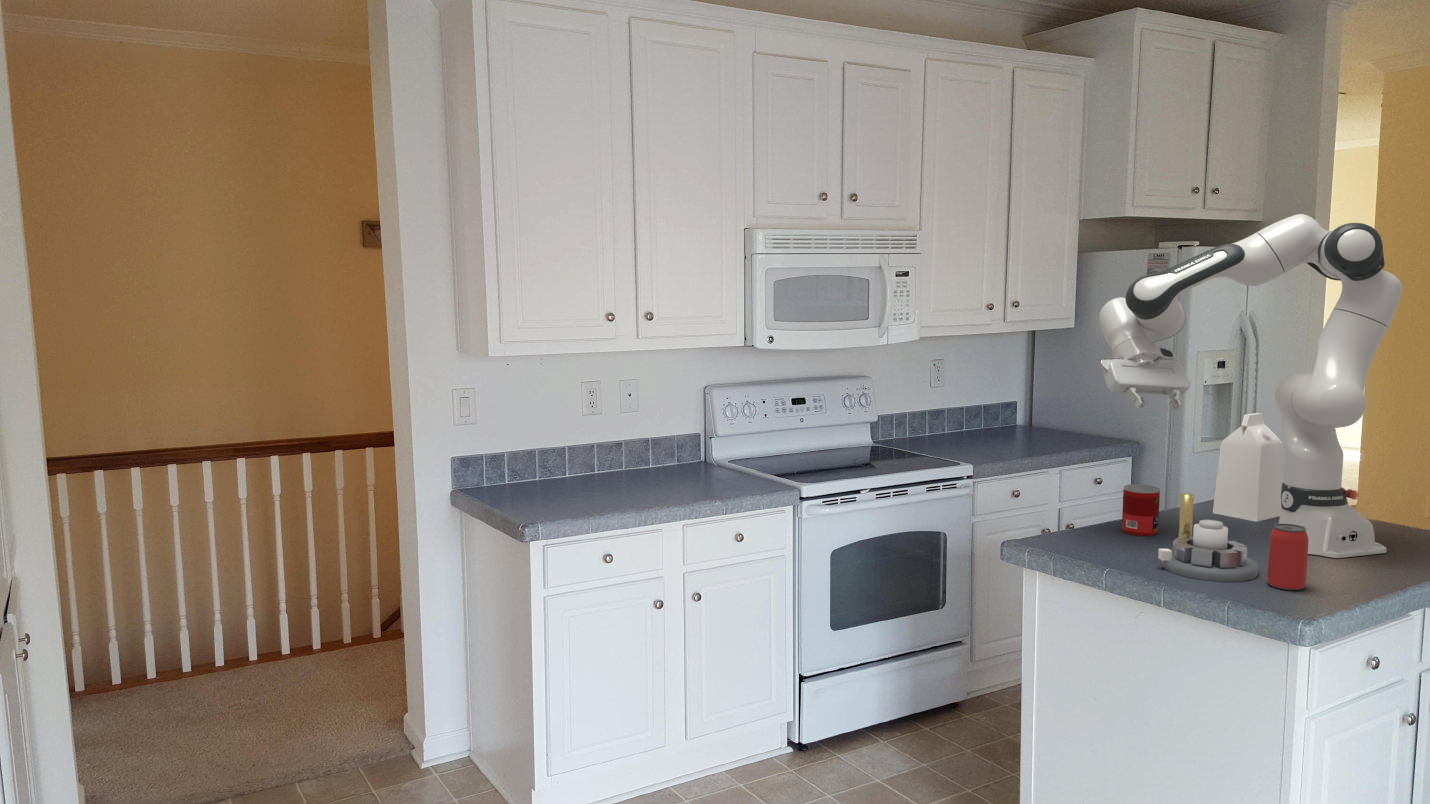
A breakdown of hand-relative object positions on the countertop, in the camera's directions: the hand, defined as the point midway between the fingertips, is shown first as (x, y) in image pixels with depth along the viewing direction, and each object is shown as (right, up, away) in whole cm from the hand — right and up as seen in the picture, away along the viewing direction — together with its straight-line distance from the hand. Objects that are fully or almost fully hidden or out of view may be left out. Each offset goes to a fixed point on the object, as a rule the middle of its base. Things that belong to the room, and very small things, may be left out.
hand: (1159, 407), depth 225 cm
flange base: (+3, -34, -16) cm, 37 cm away
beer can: (+13, -35, -28) cm, 47 cm away
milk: (+37, -28, +33) cm, 57 cm away
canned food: (+2, -30, +15) cm, 34 cm away
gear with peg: (+3, -31, -14) cm, 35 cm away
